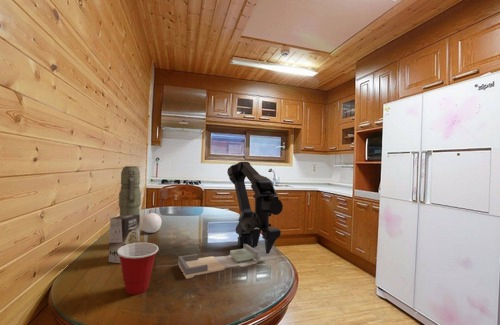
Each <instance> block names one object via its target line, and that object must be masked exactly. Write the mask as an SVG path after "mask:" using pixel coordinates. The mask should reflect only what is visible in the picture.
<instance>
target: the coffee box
mask: <svg viewBox="0 0 500 325" xmlns="http://www.w3.org/2000/svg"><path fill="white" fill-rule="evenodd" d="M140 218H141V215H140V214H139V215H135V214H126V215H122V216H120V215H119V216H114V217H110V218H109V244H108V245H109V247H108V262H109V263H114V264H115V263H116V264H121V262H120V257H119V255H118V253H117V251H118V249H119V248H120V247H122V246H125V245H127V244H132V243H139V242H140V239H139V228H140V227H141V220H140Z"/></svg>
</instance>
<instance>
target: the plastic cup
mask: <svg viewBox="0 0 500 325" xmlns="http://www.w3.org/2000/svg"><path fill="white" fill-rule="evenodd" d="M158 252H159V246H158V245H156V243H151V242H140V243H132V244H127V245H125V246H122V247H120V248H119V249H118V251H117V253H118V255H119V257H120V262H121V263H120V264H121V272H122V278H123V283H124V288H125V293H126V294H127V295H132V296H133V295H134V296H135V295H140V294H143V293H145V292H146V291H147V290H148V289H149V285H150V280H151V277H152V271H153V266H154V262H155V258H156V255H157V253H158Z"/></svg>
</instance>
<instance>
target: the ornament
mask: <svg viewBox="0 0 500 325" xmlns="http://www.w3.org/2000/svg"><path fill="white" fill-rule="evenodd" d="M162 223H163V222H162V216H160V215H159V214H158V213H156V212H153V209H149V212H148V213H146V214H144V215H143V216H142V217H141V220H140V229H142V231H143V232H145V233H147V234H151V233H152V234H153V233H155V232H157V231H159V230H160V228H161V227H162Z"/></svg>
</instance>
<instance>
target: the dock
mask: <svg viewBox="0 0 500 325" xmlns="http://www.w3.org/2000/svg"><path fill="white" fill-rule="evenodd" d="M177 261H178V262H177V265H179V266H178V268H179V269H180V271H181V272H183V273H182V274H183V276H184V277H185V279H186V280H187V279H192V278H196V277H195V276H199V275H205V274H208V273H209V274H210V273H214V272H221V271H224V270H225V269H228V268H234V267H245V266H250V265H255V264H258V262H257V260H254V259H253V260H244V261H241V262H240V263H238V262H237V261H236V260H235V259H234V258H232V257H231V256H230V254H228V255H225V256H213V255H212V256H205V257H199V254H198V253H194V254H187V255H179V256H178V260H177Z"/></svg>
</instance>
